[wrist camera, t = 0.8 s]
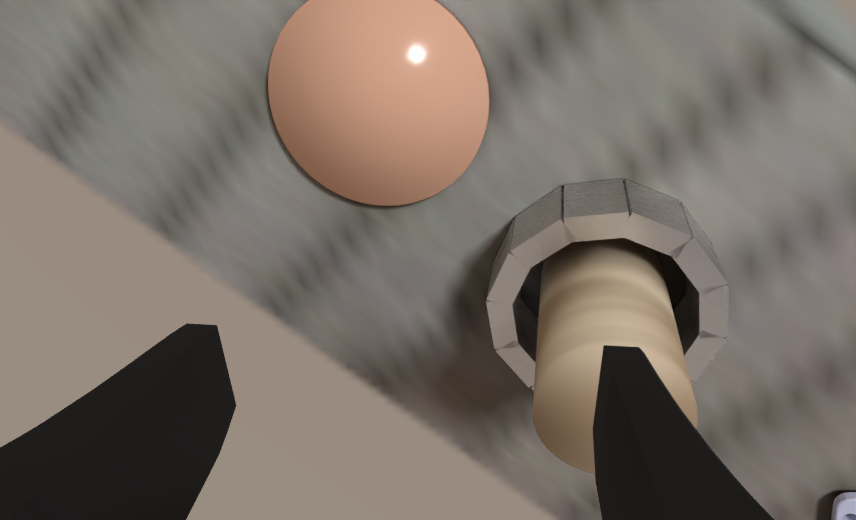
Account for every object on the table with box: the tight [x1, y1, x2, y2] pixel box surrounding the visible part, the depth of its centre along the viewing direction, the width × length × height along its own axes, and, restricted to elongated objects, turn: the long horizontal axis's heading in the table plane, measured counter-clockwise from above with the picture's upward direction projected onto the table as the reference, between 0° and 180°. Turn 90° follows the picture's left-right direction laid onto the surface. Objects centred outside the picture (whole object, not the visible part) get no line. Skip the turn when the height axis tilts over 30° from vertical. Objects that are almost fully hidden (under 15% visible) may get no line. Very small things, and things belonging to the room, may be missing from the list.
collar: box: [486, 178, 729, 390], centre depth 22 cm, size 7×7×2 cm
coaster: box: [268, 0, 490, 206], centre depth 21 cm, size 7×7×1 cm
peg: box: [533, 238, 698, 474], centre depth 20 cm, size 4×4×7 cm
